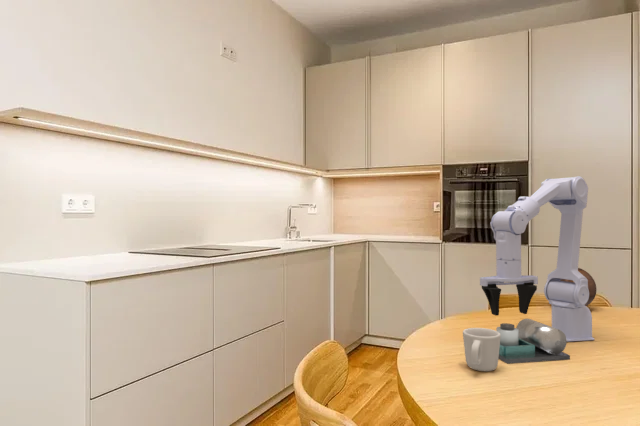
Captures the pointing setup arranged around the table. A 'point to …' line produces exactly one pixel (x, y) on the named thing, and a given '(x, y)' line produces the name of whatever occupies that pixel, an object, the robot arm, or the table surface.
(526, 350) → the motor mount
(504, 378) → the table surface
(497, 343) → the cup
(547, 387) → the table surface
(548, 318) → the table surface
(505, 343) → the grey capped cylinder
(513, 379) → the table surface
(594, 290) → the wooden sphere
